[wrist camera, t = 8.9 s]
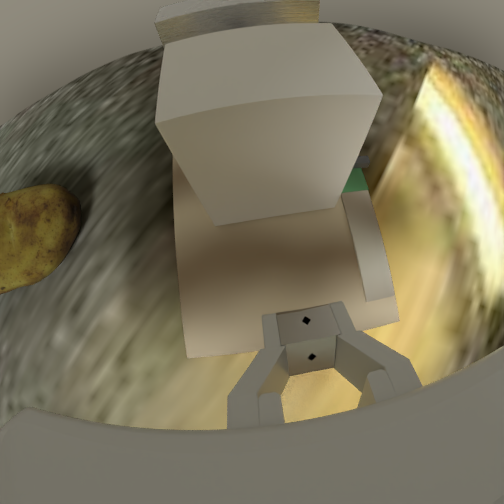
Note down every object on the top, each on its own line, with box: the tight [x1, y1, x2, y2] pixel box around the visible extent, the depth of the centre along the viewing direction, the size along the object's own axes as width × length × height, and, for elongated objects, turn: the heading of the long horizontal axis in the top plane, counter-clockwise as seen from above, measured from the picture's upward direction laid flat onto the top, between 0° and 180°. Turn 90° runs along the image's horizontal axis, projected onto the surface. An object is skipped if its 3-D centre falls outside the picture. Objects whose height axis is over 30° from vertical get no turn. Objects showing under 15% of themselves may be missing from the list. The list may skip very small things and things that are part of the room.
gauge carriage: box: [155, 23, 383, 226], centre depth 12 cm, size 9×10×9 cm
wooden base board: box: [173, 156, 400, 358], centre depth 17 cm, size 21×12×2 cm, turn 8°
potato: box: [0, 184, 81, 294], centre depth 15 cm, size 8×13×8 cm, turn 95°
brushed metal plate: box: [155, 0, 320, 49], centre depth 15 cm, size 3×10×8 cm, turn 98°
